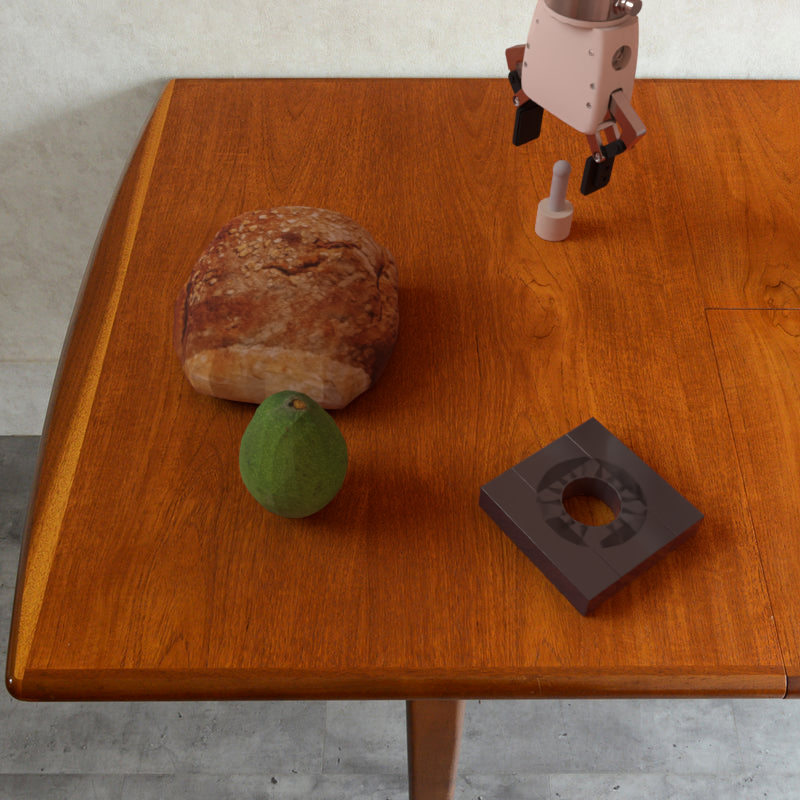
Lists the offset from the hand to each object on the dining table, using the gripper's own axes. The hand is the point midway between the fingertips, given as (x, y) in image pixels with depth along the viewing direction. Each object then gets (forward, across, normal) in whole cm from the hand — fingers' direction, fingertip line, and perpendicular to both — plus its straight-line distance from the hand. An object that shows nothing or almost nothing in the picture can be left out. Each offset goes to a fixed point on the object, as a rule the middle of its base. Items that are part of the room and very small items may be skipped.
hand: (558, 164), depth 87 cm
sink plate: (+8, -28, +22) cm, 37 cm away
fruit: (+8, -14, +39) cm, 42 cm away
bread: (+8, +2, +31) cm, 32 cm away
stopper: (+8, 0, 0) cm, 8 cm away
